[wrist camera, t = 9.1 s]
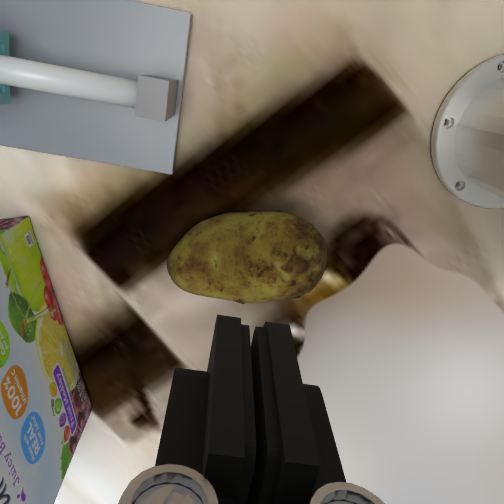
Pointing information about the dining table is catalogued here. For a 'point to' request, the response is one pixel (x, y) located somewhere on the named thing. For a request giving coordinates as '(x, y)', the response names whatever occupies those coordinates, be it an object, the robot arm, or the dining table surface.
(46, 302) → the snack box
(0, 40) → the teal sliding cube
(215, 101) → the dining table surface
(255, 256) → the potato
